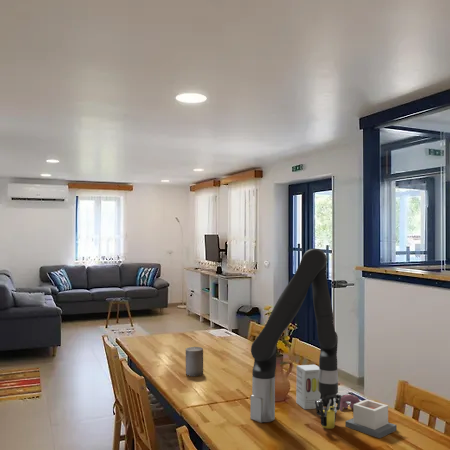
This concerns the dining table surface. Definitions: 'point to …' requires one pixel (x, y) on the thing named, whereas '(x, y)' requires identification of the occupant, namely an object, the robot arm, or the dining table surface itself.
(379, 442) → the dining table surface
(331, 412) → the cap
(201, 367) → the pillar candle
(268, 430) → the dining table surface
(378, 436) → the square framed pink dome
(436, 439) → the dining table surface
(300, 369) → the supplement box
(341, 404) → the video game controller
